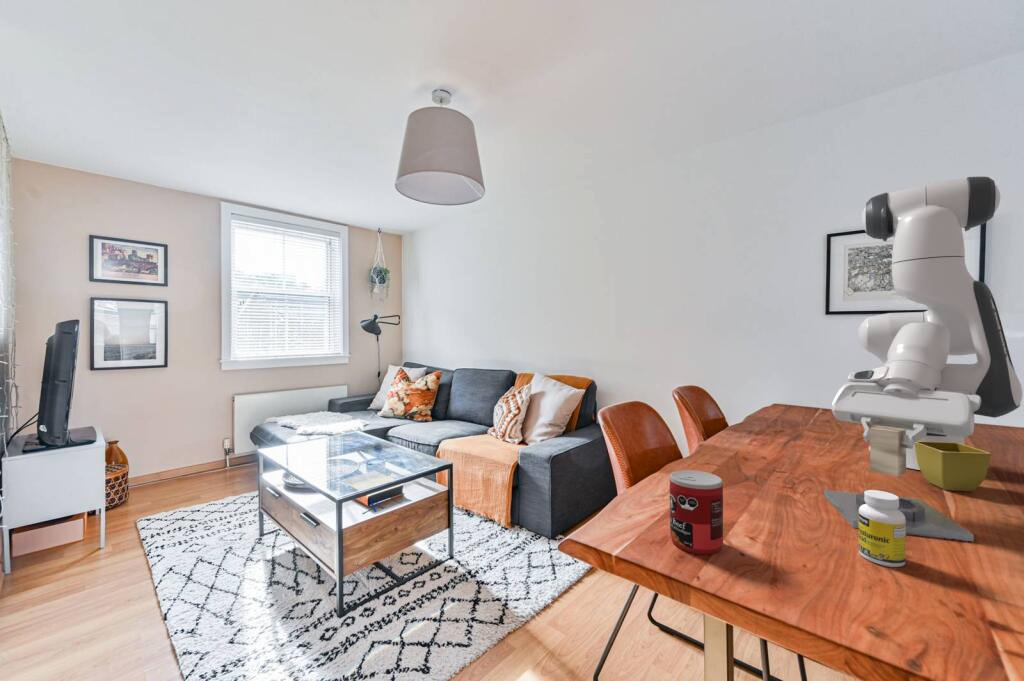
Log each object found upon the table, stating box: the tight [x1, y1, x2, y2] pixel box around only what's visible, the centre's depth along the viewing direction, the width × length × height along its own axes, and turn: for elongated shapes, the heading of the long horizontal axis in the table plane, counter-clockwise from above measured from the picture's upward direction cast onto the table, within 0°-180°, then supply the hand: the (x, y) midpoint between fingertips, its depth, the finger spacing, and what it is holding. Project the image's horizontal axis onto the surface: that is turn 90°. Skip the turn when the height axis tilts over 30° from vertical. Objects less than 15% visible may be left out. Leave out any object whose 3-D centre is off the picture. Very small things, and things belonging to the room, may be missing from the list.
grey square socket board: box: [823, 489, 975, 543], centre depth 80 cm, size 16×16×3 cm
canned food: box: [669, 469, 724, 555], centre depth 70 cm, size 8×8×11 cm
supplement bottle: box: [858, 489, 907, 568], centre depth 65 cm, size 5×5×10 cm
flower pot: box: [915, 441, 992, 492], centre depth 94 cm, size 9×9×9 cm
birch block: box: [869, 425, 907, 478], centre depth 79 cm, size 4×4×8 cm
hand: (886, 443), depth 79 cm, fingers closed on birch block, 4 cm apart
